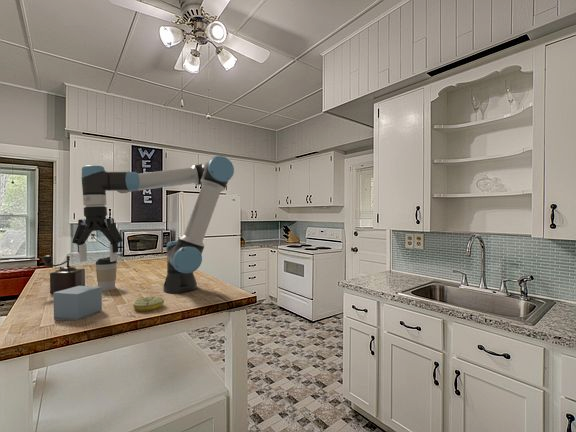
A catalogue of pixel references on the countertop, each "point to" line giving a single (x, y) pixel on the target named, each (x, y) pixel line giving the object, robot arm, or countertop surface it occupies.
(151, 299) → the decorated donut
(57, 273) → the brown coffee grinder
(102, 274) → the coffee cup
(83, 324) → the countertop surface
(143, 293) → the countertop surface
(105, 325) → the countertop surface
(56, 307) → the grey rectangular block
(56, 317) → the disc
